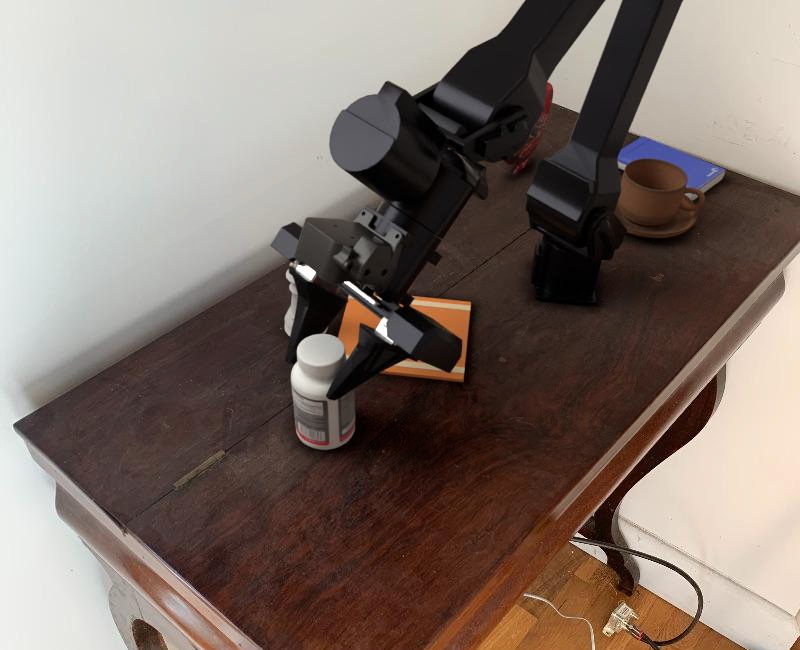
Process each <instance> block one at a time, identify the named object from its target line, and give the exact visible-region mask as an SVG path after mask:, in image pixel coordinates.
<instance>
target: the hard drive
mask: <svg viewBox="0 0 800 650" xmlns="http://www.w3.org/2000/svg"><path fill="white" fill-rule="evenodd" d="M645 158H651V159H659V160H664V161H667V162H670V163H672V164H675V165H677V166H678V167H680V168H681V169H682V170H683V171H684V172H685V173H686V174H687V177H688V182H687V185H686V187H693V188H697V189H699V190H701V191H702V192H703V194H704V193H706V192H707V191H708V190H710V189H711V188H713V187H714V186H715V185H717V184H718V183H719V182H721V181H722V180H723V178H724V176H725V174H726V169H724V168H722V167H720V166H717V165H715V164H712V163H710V162H708V161H706V160H704V159H700V158H698V157H695V156H693V155H691V154H689V153H686V152H684V151H681V150H679V149H676V148H674V147H672V146H669V145H667V144H664V143H662V142H659V141H657V140H654V139H652V138H649V137H647V136H645V135H643V136H640V137H639V138H638V139H636V140H634V141H633V142H631V143H629V144H628V145H626V146H624V147H622V148H621V151H620V153H619V156H618V159H617V160H618V168H619V170H622V171H624V169H625V167H626V165H627V164H628V163H630V162H632V161H634V160H637V159H645ZM685 195H686V196H687V197H689V198H690V199H691V200H692V201H695V200H696V199H697V198H699V197H698V196H697V195H696V194H694V193H686V194H685Z"/></svg>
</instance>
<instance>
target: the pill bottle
mask: <svg viewBox="0 0 800 650" xmlns="http://www.w3.org/2000/svg"><path fill="white" fill-rule="evenodd" d="M346 360H347V359H346V352H345V346H344V344H343V342H342V341H341V340H340V339H339V338H338V336H335V335H333V334H328V333H325V334H316V335H311V336H309V337H307V338H305V339H304V340H302V341H301V342H300V344H299V345H298V348H297V362H296V364H294V365H293V367H292V369H291V372H290V385H291V394H292V403H293V414H294V415H293V416H294V424H295V431H296V435H297V437H298V438H299V440H300V442H302V443H303V444H304V445H306V446H307V447H309V448H312V449H316V450H319V451H320V450H321V451H329V450H333V449H337V448H340V447H342V446H343V445H345V444H347V443H348V442H349V441H350V439H352V437H353V435H354V433H355V431H356V388H354V389H353V390H351V391H350V392H348V393H347V394H345V395H344V396H342V397H340V398H339V399H337V400H335V401H333V400H329V399H328V398H327V397H326V394H327V392H328V390H329V388H330V386H331V384H332V382H333V380H334V379H335V377H336V376H337V374H338V373H339V371H340V370H341V368H342V367H343V365H344V363H345V362H346Z"/></svg>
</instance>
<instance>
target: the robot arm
mask: <svg viewBox="0 0 800 650" xmlns="http://www.w3.org/2000/svg"><path fill="white" fill-rule="evenodd" d="M605 2H606V0H524V1H523V2H522V3H521V5H520V7H519V8H518V9H517V10H516V12H515V13H514V15H512V18H511V19H510V20H509V21H508V23H506V26H504V28H502V29H501V31H500V32H499V33H498V34H497V35H495V36H493V37H492V38H490V39H487V40H485V41H483V42H481V43H479V44H477V45H475V46H473V47H471V48H469V49H468V50H467V51H466V52H465V53H464V54H463V55H462V56H461V57H460V58H459V60H457V61H456V62H455V64H454V65H453V66H452V67H451V68H450V69H449V70H448V71H447V72H446V73H445V75H444V76H443V77H442V78H441V79H440V80H439V81H437V82H435V83H434V84H431V85H430V86H428V87H426V88H424V89H422V90H421V91H419V92H417V93H416V94H414V95H413V94H411V93H410V92H409V91H408V90H407V89H405V88H403V87H402V86H400V85H398V84H395V83H394V82H392V81H390V80H385V81H384V83H383V84H382V86H381V88H380V89H379V91H378V92H377V93H373V94H367V95H365V96H362V97H359V98H358V99H356V100H355V101H353V102H352V103H351V104H349V105H348V106H347V107H346V108H345V109H341V111H340V112H339V113H338V116H337V117H336V118H335V121H334V122H333V125H332V127H331V131H330V134H329V142H328V143H329V144H328V145H329V154H330V155H331V158H332V160H333V162H334V163H335V164H336V166H338V167H339V168H340V169H342V170H343V171H344V172H345V173H347V174H348V175H350V176H351V177H353V178H354V179H355V180H357V181H358V182H359V183H360V184H362V185H363V186H364V187H366V188H368V189H369V190H370V191H372V192H373V193H375V194H376V195H378V196H379V197H380V198H382V199H383V200H382V201H381V202H380V203H379V205H378V207H377V209H374V208H372V207H371V206H369V205H367V204H366V207H364V208H363V209H361V210H360V211H359V213H358V214H357V216H356V217H355V219H353V220H352V221H351V220H345V219H341V218H333V217H331V218H329V217H314V216H307V217H306V218H304V221H303V225H301V224H299V223H297V222H295V221H292V222H290V223H287V224H285V225H283V226H281V227H280V229H279V231H278V232H277V234H276V236H275V237H274V239H273V240H272V242H271V243H270V245H269V246H270V247H271V248H273V249H274V250H275V251H276V252H278V253H279V254H280V255H282V256H283V258H285V259H286V260H288V261H289V262H291V263H294V261H298V262H299V263H298V265H297V266H296V268H293V267H291V266H289V265H288V269H289V273H290V274H291V275H292V276H293V278H294V282H295V285H296V289H297V294H298V298H297V305H296V312H295V317H294V322H293V326H292V330H291V335H290V336H289V340H288V343H287V348H286V352H285V357H284V361H285V362H286V363H287V364H289V365H292V366H294V365H295V364H296V362H297V348H298V345H299V344H300V342H301V341H302V340H304V339H305V338H307V337H309V336H311V335H316V334H322V333H323V332H324V331H325V330H326V329H327V327H328V328H329V326H331V324H332V322H334V320H335V319H336V318H337V317H338V315H339V314H340V313H341V312H342V310H343V309H344V308H345V307H346V305H347V303H348V298H346V297H345V296H343V295H342V294H341V293H339V292H338V291H339V290H340V289H341V290H342V291H343V292H345V293H346V294H347V295H348V296H349V295H350V296H351V297H353V298H354V299H355V300H357V301H358V302H359V303H361V304H362V305H363V306H364V307H366V308H367V309H368V310H370V311H371V312H372V313H374V314H375V315H376V316H377V317H379V318H380V319H381V322H379V324H378V325H377V327H376V328H375V329H374V328H372V327H370V326H367V325H365V324H363V323H360V325H359V337H358V343H357V345H356V347H355V348H354V350H353V351H352V353H351V354H350V356H349V357H348V359H347V360H346V362H345V363H344V365H343V367H342V368H341V370H340V371H339V373H338V374H337V376H336V377H335V379H334V380H333V382H332V384H331V386H330V388H329V390H328V392H327V394H326V397H327V398H328V399H329V400H333V401H335V400H337V399H339V398H340V397H342V396H344V395H345V394H347V393H348V392H350V391H351V390H353V389H354V388H355V389H356V388H357V387H360V386H361V385H362V384H364V383H366V382H367V381H369V380H370V379H371V378H373V377H375V376H376V375H378V374H381V373H380V372H382V371H384V370H386V369H388V368H390V367H392V366H394V365H396V364H398V363H400V362H402V361H404V360H406V359H408V358H409V359H411V360H413V361H416V362H417V361H418V360H420V361H422V362H424V363H427V364H429V365H431V366H434V367H436V368H438V369H441V370H443V371H445V372H448V373H451V371H452V370H453V368H454V367H455V365H456V364H457V362H458V361H459V359H460V358H461V355H462V341H463V340H462V339H460V338H459V337H458V336H456V335H455V334H454V333H452V332H451V331H449V330H448V329H447V328H445V327H444V326H443V325H441V324H440V323H438V322H437V321H436V320H434V319H433V318H431V317H429V316H427V315H425V314H423V313H422V312H420V311H418V310H416V309H414V308H412V307H410V305H411V303H412V302H413V300H414V299H415V298H414V297H412V296H413V295H411V294H410V293H409V291H410V290H411V288H412V287H413V286H414V284H415V282H416V281H417V279H418V278H419V276H420V275H421V273H422V272H423V270H424V269H425V267H426V266H427V264H428V263H430V264H431V265H432V266H434V267H437V266H438V264H439V262H440V261H441V259H442V258H443V255H441V254H440V253H439V252H437V251H436V250H437V249H438V247H439V246H440V244H441V243H442V241H443V240H444V238H445V237H446V235H447V234H448V232H449V231H450V229H451V228H452V226H453V225H454V223H455V221H456V220H457V218H458V217H459V215H460V214H461V212H462V211H463V209H464V207H465V206H466V205H467V203H468V202H469V200H470V198H471V197H472V196H475V197H476V198H478V200H479V199H480V200H481V201H485V200H486V199H488V197H489V186H488V182H487V168H488V167H487V166H486V165H484V164H483V163H481V162H486V163H492V164H496V163H498V162H501V161H503V160H504V161H507V160H509V159H510V158H511V157H512V156H514V155H515V154H516V152H518V151H519V150H520V149H521V148H522V147H523V145H524V144H525V142H526V141H527V139H528V137H529V134H530V132H531V131H532V129H533V127H534V126H535V124H536V122H537V121H538V119H539V117H540V116H541V114H542V113H543V111H544V108H545V100H546V91H547V82H549V80H550V78H551V76H552V74H553V73H554V71H555V69H556V68H557V67H558V65H559V63H561V61H562V59H563V58H564V57H565V55H566V54H567V53H568V51H570V49H571V48H572V46H573V45H574V44H575V42H576V41H577V40H578V38H579V37H580V35H582V33H583V32H584V30H585V29H586V28H587V26H588V25H589V23H591V20H592V19H593V18H594V16H595V15H596V14H597V12H598V11H599V10H600V8H601V7H602V6H603V4H604V3H605ZM683 2H684V0H621V1H620V5H619V7H618V10H617V12H616V15H615V18H614V20H613V23H612V26H611V28H610V30H609V34H608V37H607V38H606V42H605V44H604V47H603V50H602V52H601V55H600V58H599V59H598V63H597V65H596V68H595V70H594V73H593V76H592V78H591V81H590V84H589V87H588V90H587V91H586V95H585V97H584V100H583V103H582V105H581V108H580V110H579V113H578V115H577V118H576V120H575V124H574V127H573V129H572V132H571V135H570V137H569V139H568V141H567V143H566V144H565V145H564V146H563V147H562V148H560V149H559V150H558V151H557V152H556V153H554V154H553V155H552V156H551V157H542V158H541V160H539V162H538V163H537V165H536V168H535V174H534V177H533V179H532V181H531V183H530V186H529V188H528V189H527V191H526V192H525V196H526V203H525V211H526V212H527V215H528V220H529V228H530V229H531V230H533V231H537V232H538V233H540V234H542V238H541V239H538V240H536V241H535V247H534V253H533V256H532V263H531V269H530V283H531V285H533V286H534V290H533V291H534V294H533V296H534V299H535V300H538V301H546V302H553V303H554V302H556V303H565V304H574V305H575V304H576V305H586V306H594V305H595V303H596V298H597V297H596V286H597V282H598V278H599V275H600V270H601V265H602V262H603V261H611V260H613V259H614V255H615V252H616V251H617V250H619V249H620V248H621V245H622V244H623V243H624V240H625V236H626V234H627V233H626V232H627V229H626V227H625V226H624V225H623V224H622V222H621V221H620V220H619V219H618V218H617V216H616V215H615V214H614V212H615V209H616V206H617V203H618V200H619V197H620V194H621V183H620V181H621V176H620V168H618V160H617V159H618V156H619V153H620V151H621V149H623V145H624V143H625V140H626V138H627V136H628V134H629V131H630V129H631V126H632V124H633V122H634V120H635V118H636V117H635V116H636V115H637V112H638V110H639V107H640V104H641V102H642V101H643V98H644V95H645V93H646V92H647V91H646V90H647V88H648V85H649V83H650V81H651V78H652V76H653V73H654V71H655V69H656V66H657V64H658V61H659V59H660V57H661V54H662V52H663V49H664V47H665V44H666V42H667V40H668V38H669V35H670V33H671V31H672V29H673V26H674V24H675V20H676V18H677V16H678V13H679V11H680V9H681V6H682V5H683ZM504 161H503V162H504ZM374 293H375V295H376V296H378V297H379V298H381V299H382V300H380V299H379V298H377V297H376V296H375V295H373V294H374ZM400 304H401V305H403V306H400ZM327 330H328V329H327Z"/></svg>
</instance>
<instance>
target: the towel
mask: <svg viewBox="0 0 800 650" xmlns="http://www.w3.org/2000/svg"><path fill="white" fill-rule="evenodd" d="M373 295H375V293H374V294H373ZM375 296H376V295H375ZM411 296H412V297H414V298H415V299H414V300H413V302H412V303H411V305H410V307H412V308H414V309H416V310H418V311H420V312H422V313H423V314H425V315H427V316H429V317H431V318H433V319H434V320H436V321H437V322H438V323H440V324H441V325H443V326H444V327H445V328H447V329H448V330H449V331H451V332H452V333H454V334H455V335H456V336H458V337H459V338H460V339H462V340H463V341H462V355H461V358H460V359H459V361H458V362H457V364H456V365H455V367H454V368H453V370H452V371H451V373H448V372H445V371H443V370H441V369H438V368H436V367H434V366H431V365H429V364H427V363H424V362H422V361H420V360H418V361H417V362H416V361H413V360H411V359H409V358H408V359H406V360H404V361H402V362H400V363H398V364H396V365H394V366H392V367H390V368H388V369H386V370H384V371H382V372H380V373H379V374H383V375H384V374H385V375H390V376H391V375H393V376H402V377H411V378H420V379H428V380H429V379H430V380H438V381H447V382H455V383H464V378H465V369H466V359H467V350H468V349H467V348H468V337H469V329H470V328H469V327H470V319H471V318H470V317H471V309H472V308H471V307H472V302H471V301H465V300H456V299H448V298H447V299H445V298H438V297H437V298H436V297H426V296H418V295H417V296H416V295H411ZM376 297H377V298H379V297H378V296H376ZM379 299H380V300H382V299H381V298H379ZM347 300H348V303H347V304H346V305H345V310H344V313H343V317H342V320H341V325H340V328H339V331H338V335H337V338H339V339H340V340H341V341H342V342H343V344H344V346H345V352H346V359H348V357H349V356H350V354H351V353H352V351H353V350H354V348H355V347H356V345H357V343H358V337H359V325H360V323H363V324H365V325H367V326H370V327H372V328H374V329H375V328H376V327H377V325H378V324H379V322H381V319H380V318H379V317H377V316H376V315H375V314H374V313H372V312H371V311H370V310H368V309H367V308H366V307H364V306H363V305H362V304H361V303H359V302H358V301H357V300H355V299H354V298H353V297H351V296H350V295H349V294H348V297H347ZM400 306H403V305H401V304H400Z"/></svg>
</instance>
